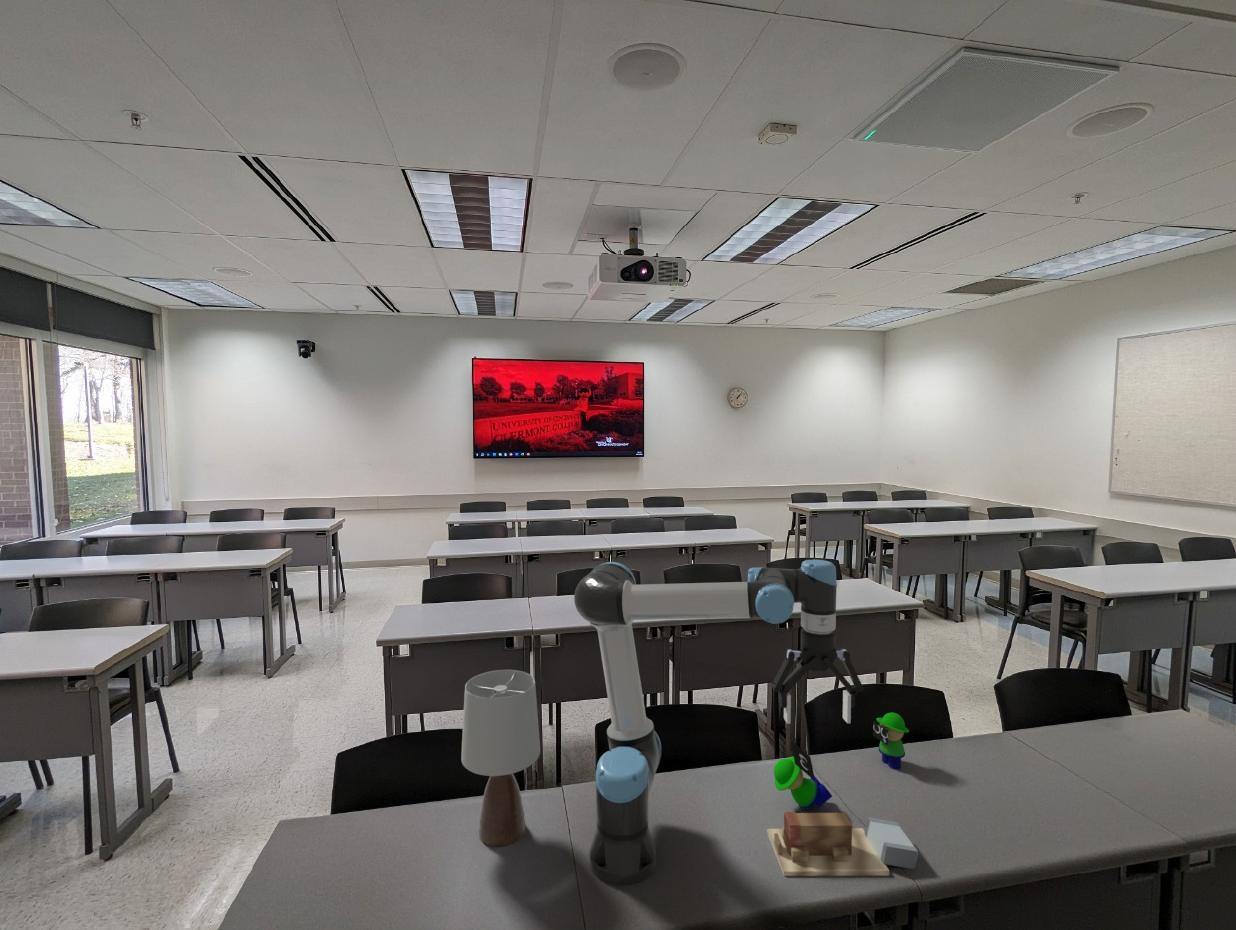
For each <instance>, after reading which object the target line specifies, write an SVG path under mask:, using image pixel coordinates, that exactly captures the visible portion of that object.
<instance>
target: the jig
mask: <svg viewBox="0 0 1236 930" xmlns="http://www.w3.org/2000/svg"><path fill="white" fill-rule="evenodd" d="M864 832H865V829H864V828H863V827H862V828H861V827H857V828H856V827H855V828H853V827H852V856H848V850H847V848H846V847H832V856H809V851H808V849H807V848H791V856H789V853H788V851H787V849H786V846H785V844H784V825H783V826H781V828H767V836H768V838H769V841H770V843H771V847H772V850H773V852H774V854H775V857H776V859H777V862H778V864H779V867H780V869H781V872H782V874H783V876H784V877H807V876H809V877H812V876H813V877H817V876H818V877H819V876H820V877H827V876H830V877H836V876H837V877H838V876H839V877H846V876H849V877H850V876H853V877H855V876H859V877H860V876H861V877H862V876H864V877H865V876H867V877H868V876H869V877H870V876H873V877H874V876H879V877H880V876H886V877H887V876H890V870H889V868H888V865H887V864H883V863H882V861H881V859H880V858H879V856H878V854H877V853H876V851H875V850H874V848H873V846H872V845H871V843H870V842H869V840H868V838H867V837H866V835H865V834H864Z"/></svg>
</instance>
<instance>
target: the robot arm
mask: <svg viewBox="0 0 1236 930" xmlns="http://www.w3.org/2000/svg"><path fill="white" fill-rule="evenodd" d="M636 582H637V581H636V578H635V576H634V573H633V571H631V569H629V568H628V567H627V566H626V565H624V564H622V563H620V562H616V561H615V562H614V561H608V562H603V563H601V564H599V565H597V566H596V567H594V568H593V569H592V570H591V572H589V573H588V574H587V575H585V576H583V578H582V579H581V580H580V581H579V582H578V583H577V586H576V588H575V590H574V599H573V600H574V605H575V608H576V611H577V612H578V614H579V616H581V617H582V618H583V620H585V621H587V622H588V623H589V624H590V625H591V626H592V627H593V628H595V629H596V630H597V635H598V642H599V648H600V649H599V650H600V655H601V663H602V668H603V675H604V681H605V682H604V683H605V687H606V695H607V700H608V706H609V713H610V714H609V715H610V721H611V723H610V725H609V726H608V728H607V729H606V735H607V741H608V748H609V750H608V751H606V752H604V753H603V754H602V755H601V756H600V757H599V760H598V762H597V765H596V772H595V786H596V787H595V788H596V789H595V790H596V791H595V792H596V793H595V794H596V828H595V831H594V833H593V834H594V835H593V838H592V840H591V843H590V847H589V850H588V851H589V852H588V863H589V864H588V865H589V867H590V869H591V872H592V873H593V874H594V876H595V877H596V878H598V879H599V880H600V881H603V882H605V883H607V884H610V885H615V886H631V885H636V884H639V883H641V882H643V881H644V880H646V879H647V878H649V877H650V876H651V875H652V874H653V873H654V870H655V869H656V865H657V850H656V846H655V843H654V841H653V837H652V833H651V831H650V828H649V798H650V797H649V796H650V792H651V788H652V785H653V782H654V778H655V775H656V773H657V769H658V767H659V765H660V761H661V757H662V743H661V739H660V737H659V735H658V733H657V732H656V731H655V725H654V722H653V720H651V719H649V718H648V717H647V716H646V715H647V714H646V708H645V702H644V695H643V694H644V693H643V689H642V682H641V676H640V670H639V663H638V656H637V650H636V645H635V644H636V643H635V637H634V630H633V622H634V621H637V620H640V621H641V620H642V621H646V620H709V619H711V620H714V619H715V620H718V619H720V620H722V619H762V620H763V621H764V622H767V623H770V624H774V625H777V624H783V623H784V622H786V621H787V620H789V619H790V617H791V616H792V614H793V612H794V605H795V603H800V604H801V605H800V627H801V629H800V647H799V650H792V649H791V648H787V649H786V651H785V658H784V660H783V661H782V664H781V665H780V668H779V669H778V672H777V673H776V676H775V677H774V679H773V681H772V683H771V687H772V689H773V690H774V691H773V692H775V693H778V694H779V705H780V707H781V708H782V709H783V719H784V721H785V722H786V724H787V725H788V724H789V725H790V724H791V720H792V719H791V717H792V715H791V714H792V713H791V712H792V711H791V709H792V700H791V699H792V695H791V694H790V691H791V690H792V689H793V688H794V687H795V686H796V684H797V683H798V682H799V681H800V680H801V678H802V677H803V676H804V675H805V674H807V673H808V672H809V671H811V672H818V671H820V672H826V671H828V670H830V671H831V672H832V673H833V675H834V676H835V677H836V678H837V679H838V680H839V681H840V683H841V684H842V685H843V687H844V688H845V689H844V690H842V719H843V720H844V721H845V722H846V723H847V724H851V723H852V722H851V719H852V715H851V714H852V710H851V709H852V708H853V709H854V708H855V706H856V705H855V704H856V702H855V701H856V697H857V695H858V692H860V693H862V692H864V690H865V689H864V686H863V684H862V681H861V680H860V677H859V676H858V674H857V671H856V669H855V668H854V666H853V663H852V661H851V655H850V652H849V651H848V650H847V649H846V648H844V647H843V648H841V649H840V650H837V649H836V640H837V637H836V634H837V633H836V632H835V630H836V627H837V626H836V625H837V624H836V623H837V619H836V618H837V613H836V612H837V585H838V582H837V568H836V565H835V564H834V563H833V562H832V561H827V560H823V559H805V560H804V561H802V562H801V566H800V568H776V567H765V566H762V567H750V568H749V569H748V570H747V581H734V582H733V581H731V582H729V581H728V582H727V581H726V582H695V583H694V582H693V583H689V582H688V583H686V582H685V583H683V582H682V583H652V584H650V583H648V584H647V583H646V584H643V583H642V584H637V583H636ZM798 658H799V659H800V661H799V662H798V663H797V666H796V667H795V668H794V670H793V671H792V672H791V673H790V671H791V669H792V667H793V666H794V662H795V661H797V660H798ZM837 658H839V660H840V661H842V663H843V666H844V668H845V670H846V671H847V674H848V676H849V677H850V680H851V681H852V683H853V684H851V683H850V682H849V681H848V680H847V679H846V678H845V676H844V675H843V674H842V673H841V671H839V669H838V668H837V667H836V666H835V665H834V662H835V661H836V659H837ZM789 673H790V674H789Z"/></svg>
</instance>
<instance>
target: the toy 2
mask: <svg viewBox="0 0 1236 930" xmlns="http://www.w3.org/2000/svg"><path fill="white" fill-rule="evenodd" d="M909 732H910V730H909V729H908V728H907V727H906V724H905V721H904V718H903V717H902V716H901V715H900V714H898V713H896V712H888V713H885V714H884V716H882V717H877V718H876V721H875V720H872V736H873V737H874V738H876V739H877V740H878V741H880V742H879V746H878V752H879V753H880V754H881V761H882V762H883V763H884V764H887V766H888V767H889V768H890V769H892V770H901V768H902V758H904V757H905V756H906V752H905V747H904V743H903V741H902V738H903V737H904V734H905V733H909Z"/></svg>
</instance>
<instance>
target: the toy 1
mask: <svg viewBox="0 0 1236 930" xmlns="http://www.w3.org/2000/svg"><path fill="white" fill-rule="evenodd" d="M790 742H791V747H792V753H793V754H792V755H793V756H790V757H787V758H781V759H779V760H778V761H777V762H775V765H774V767H773V775H774V786H775V788H776V789H777V790H778V791H786V790H790V793H791V795H792V798H793V800H794V801H795V803H797V805H798V806H799V808H800V809H803V810H808V809H810V808H812V807H813V806H814V804H815V806H816V807H817V808H818V809H820V808H821V807H822V806H823V805H825V804H826V803H827V802H828V801H830V799H831V798H832V797H833V794H831V792H830V791H829V790H828V789H827V787H826V786H825V785H824V783H821V782H820V780H818V778H817V777H816V776H815V773H814V768H813V762H812V759H811V756H810V755H809V754H808V753H807V752H805V751H804V750H803V749H802V748H801V747H799V745H797V744H796V743H795V742H793V740H790ZM803 772H804V773H805V774H806V775H807V776H809V778H807V777H804V773H803Z"/></svg>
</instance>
